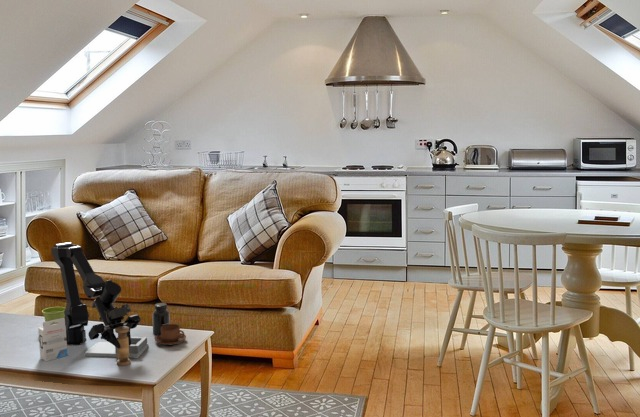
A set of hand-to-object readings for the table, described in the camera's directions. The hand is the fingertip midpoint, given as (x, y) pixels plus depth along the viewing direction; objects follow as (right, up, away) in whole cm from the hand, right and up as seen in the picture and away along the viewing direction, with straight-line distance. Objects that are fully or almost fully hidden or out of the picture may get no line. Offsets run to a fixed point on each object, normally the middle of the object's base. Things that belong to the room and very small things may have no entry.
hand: (125, 346), depth 244 cm
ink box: (-29, -6, +8) cm, 30 cm away
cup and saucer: (+11, -3, +25) cm, 27 cm away
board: (-7, -5, +14) cm, 17 cm away
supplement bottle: (+5, -2, +35) cm, 36 cm away
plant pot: (-40, -1, +39) cm, 56 cm away
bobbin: (-1, -6, +2) cm, 7 cm away
